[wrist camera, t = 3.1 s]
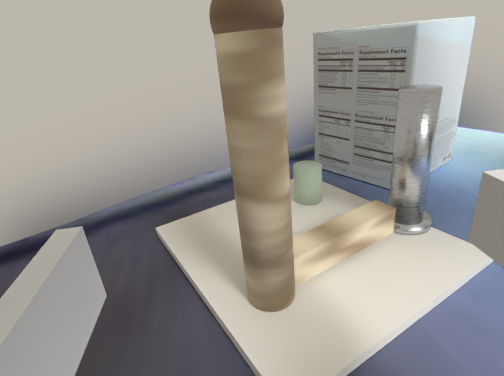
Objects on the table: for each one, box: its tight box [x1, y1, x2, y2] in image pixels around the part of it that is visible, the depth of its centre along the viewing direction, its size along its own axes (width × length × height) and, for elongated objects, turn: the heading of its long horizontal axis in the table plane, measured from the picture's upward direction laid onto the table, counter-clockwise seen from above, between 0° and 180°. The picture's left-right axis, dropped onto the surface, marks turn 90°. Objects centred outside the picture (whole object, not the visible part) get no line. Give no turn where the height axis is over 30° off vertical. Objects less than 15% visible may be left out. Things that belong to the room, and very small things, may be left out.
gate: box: [210, 0, 396, 312], centre depth 21 cm, size 14×4×19 cm, turn 122°
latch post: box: [293, 160, 322, 206], centre depth 35 cm, size 3×3×4 cm
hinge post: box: [388, 85, 443, 235], centre depth 27 cm, size 4×4×12 cm
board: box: [155, 178, 493, 376], centre depth 29 cm, size 20×22×1 cm
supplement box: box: [313, 17, 475, 189], centre depth 41 cm, size 13×13×18 cm
